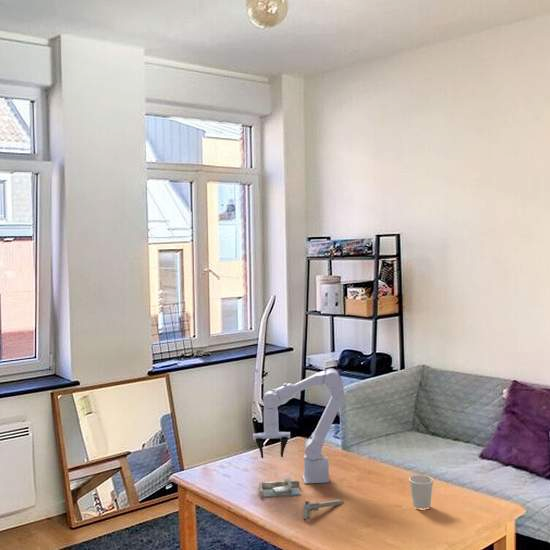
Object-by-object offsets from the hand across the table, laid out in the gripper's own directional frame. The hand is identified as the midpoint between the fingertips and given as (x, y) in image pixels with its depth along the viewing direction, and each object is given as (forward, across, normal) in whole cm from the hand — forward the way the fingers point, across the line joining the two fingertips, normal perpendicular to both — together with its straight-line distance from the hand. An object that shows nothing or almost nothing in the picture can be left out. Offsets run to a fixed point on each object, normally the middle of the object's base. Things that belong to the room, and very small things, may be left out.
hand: (271, 456), depth 259 cm
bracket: (+9, -2, +13) cm, 16 cm away
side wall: (+9, +6, +13) cm, 17 cm away
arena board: (+9, -2, +13) cm, 16 cm away
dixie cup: (+10, -49, +34) cm, 60 cm away
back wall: (+9, -2, +8) cm, 13 cm away
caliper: (+10, -15, +32) cm, 37 cm away
